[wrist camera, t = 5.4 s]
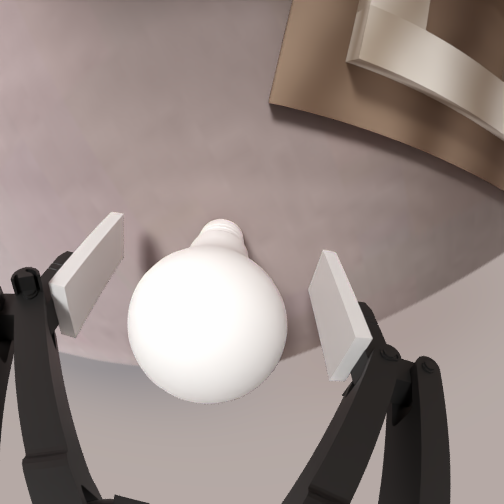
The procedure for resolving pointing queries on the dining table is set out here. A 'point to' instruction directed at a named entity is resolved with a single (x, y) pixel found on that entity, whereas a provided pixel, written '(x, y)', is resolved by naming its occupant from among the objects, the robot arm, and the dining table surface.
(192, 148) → the dining table surface
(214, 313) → the lightbulb
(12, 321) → the robot arm
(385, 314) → the dining table surface
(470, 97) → the socket
